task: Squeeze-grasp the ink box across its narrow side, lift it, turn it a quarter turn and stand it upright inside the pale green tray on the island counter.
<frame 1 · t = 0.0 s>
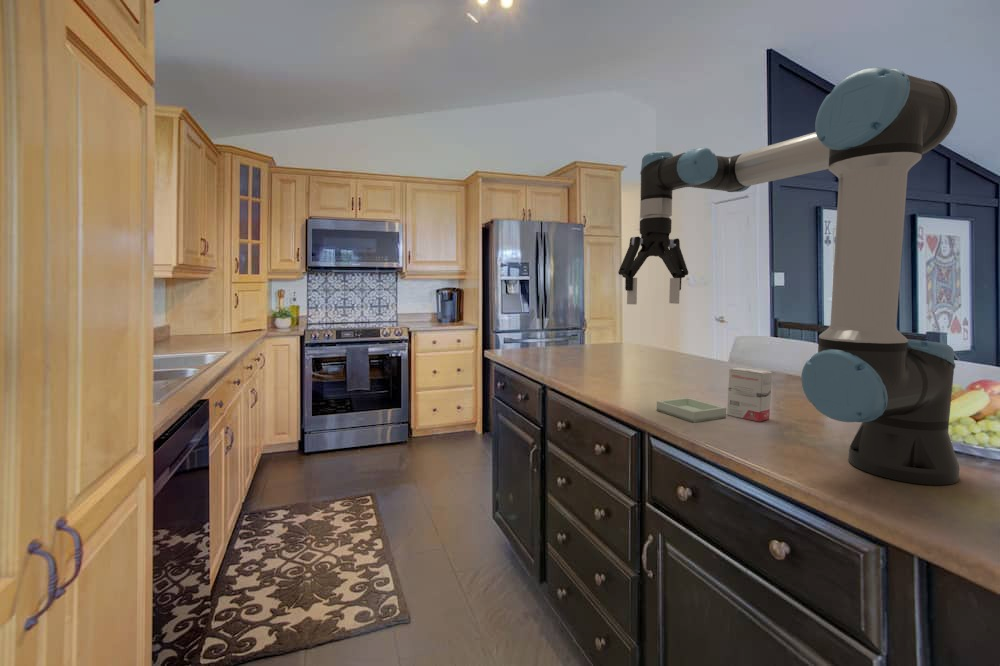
hand: (653, 304, 124), 28 cm above the worktop, fingers open, 13 cm apart
pale green tray: (690, 414, 125), on the worktop
ink box: (748, 417, 122), on the worktop
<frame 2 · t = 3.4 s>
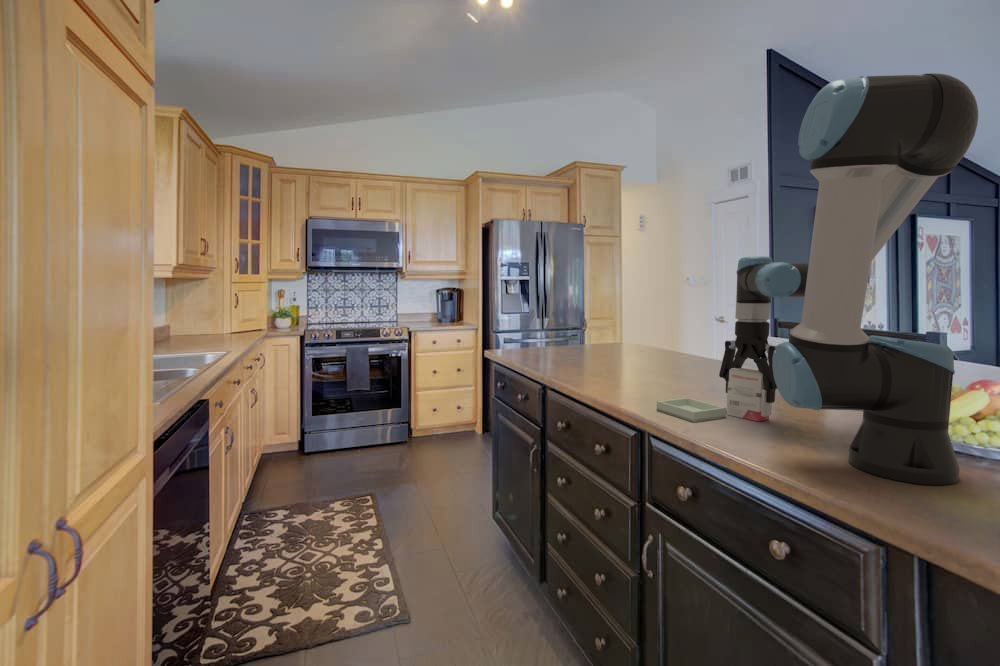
hand: (748, 410, 122), 2 cm above the worktop, fingers closed on ink box, 9 cm apart
ink box: (747, 417, 122), on the worktop, touching gripper
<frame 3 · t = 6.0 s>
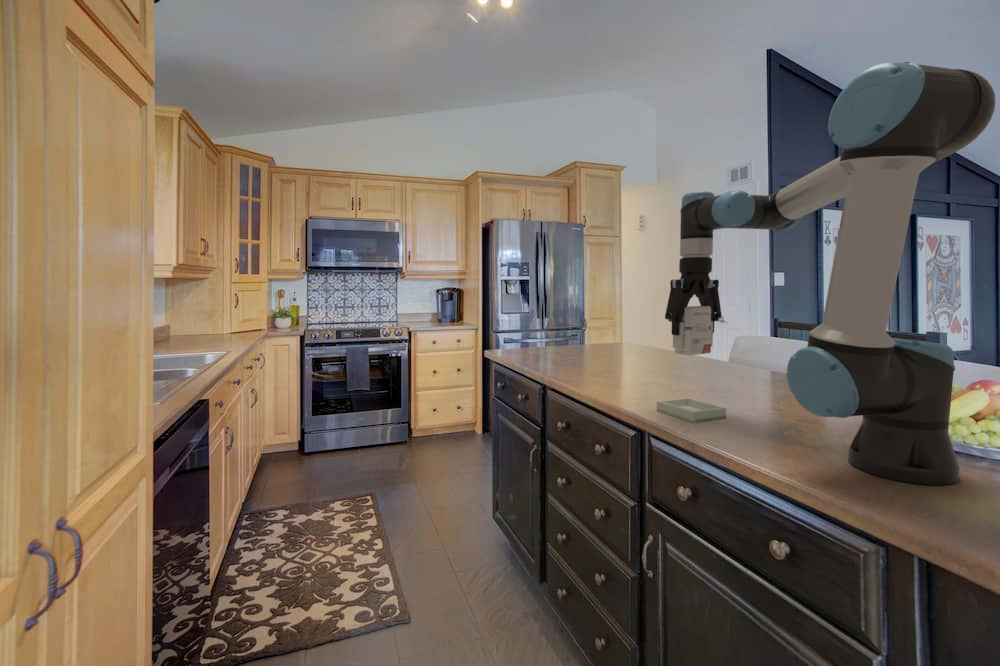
hand: (692, 347, 123), 17 cm above the worktop, fingers closed on ink box, 9 cm apart
ink box: (692, 354, 124), point 15 cm above the worktop, touching gripper
when the fingers open (4 cm above the worktop, at t = 8.9 s): ink box drops 2 cm, resting on pale green tray.
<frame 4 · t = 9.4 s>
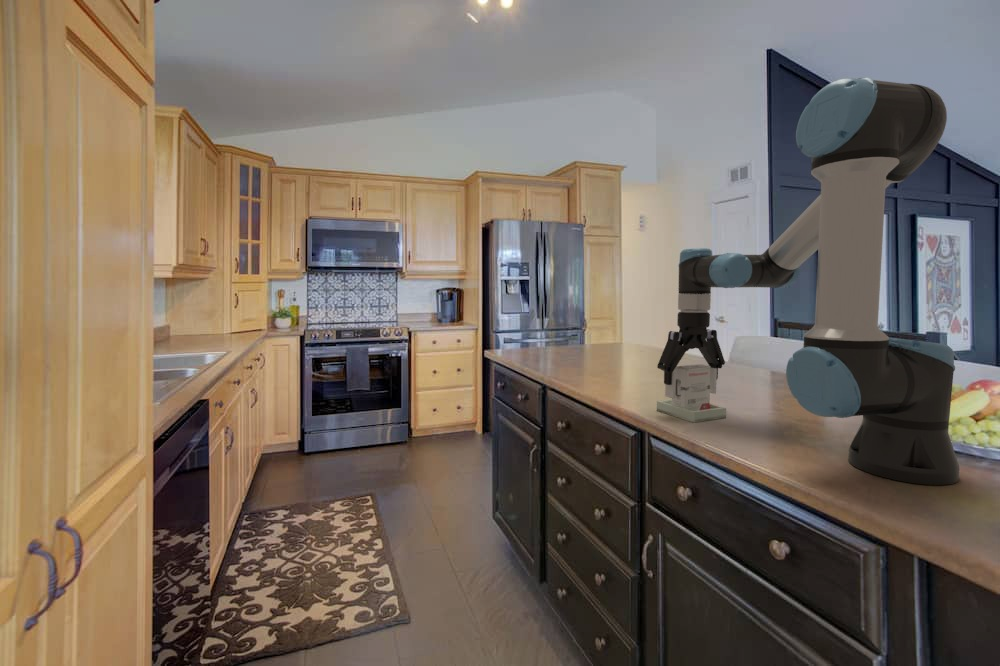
hand: (690, 395, 124), 5 cm above the worktop, fingers open, 13 cm apart
ink box: (689, 412, 125), resting on pale green tray
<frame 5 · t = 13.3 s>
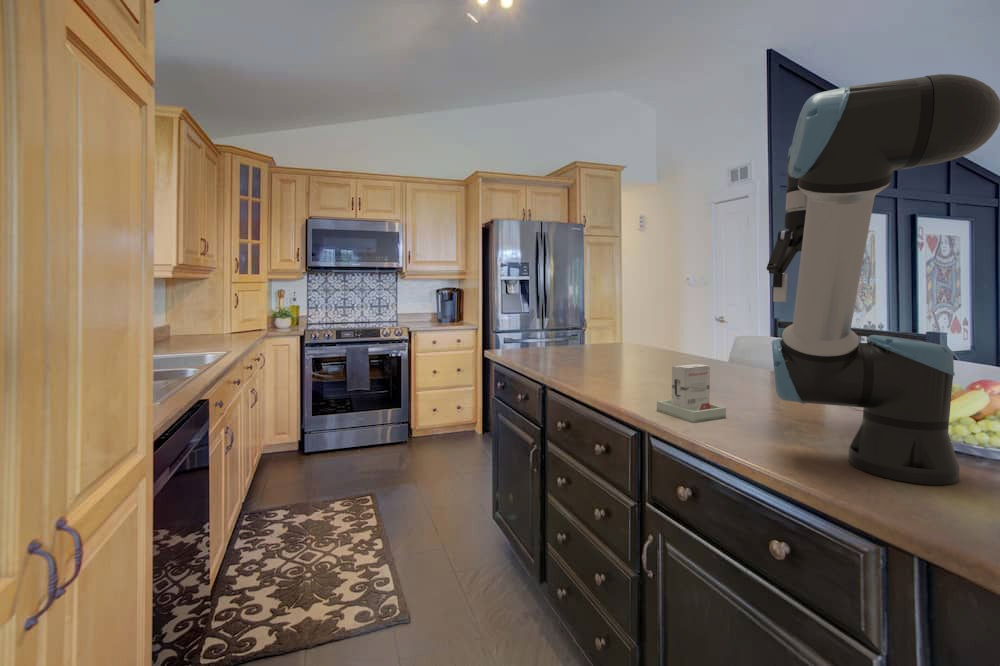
hand: (798, 301, 117), 29 cm above the worktop, fingers open, 13 cm apart
nothing on the worktop moved.
at the end: ink box inside the target area on the pale green tray (0.1 cm from its centre), point 0.4 cm above the pale green tray's base; ink box tilted 0°; the gripper is holding nothing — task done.
